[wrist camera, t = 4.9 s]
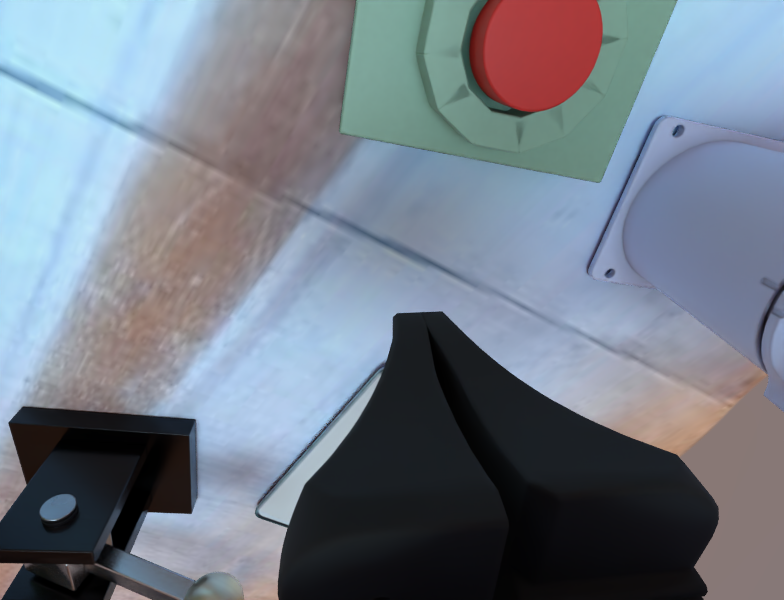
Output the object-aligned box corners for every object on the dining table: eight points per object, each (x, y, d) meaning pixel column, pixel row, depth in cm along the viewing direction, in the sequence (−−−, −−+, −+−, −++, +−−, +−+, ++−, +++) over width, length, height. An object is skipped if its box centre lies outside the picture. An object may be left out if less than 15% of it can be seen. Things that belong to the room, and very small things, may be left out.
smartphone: (251, 515, 29) (385, 365, 24) (252, 508, 30) (384, 359, 25) (338, 546, 32) (477, 415, 27) (339, 538, 32) (475, 409, 27)
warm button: (594, -6, 14) (625, -13, 12) (553, 115, 16) (575, 122, 14) (487, -35, 13) (505, -46, 12) (455, 94, 15) (468, 99, 13)
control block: (660, -42, 17) (742, -65, 13) (577, 170, 20) (624, 196, 17) (372, -127, 15) (381, -180, 11) (339, 124, 18) (337, 142, 15)
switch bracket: (195, 419, 26) (146, 540, 19) (197, 497, 29) (156, 622, 23) (22, 406, 24) (-93, 533, 18) (44, 490, 27) (-45, 622, 21)
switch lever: (256, 572, 21) (222, 635, 19) (253, 603, 22) (221, 666, 20) (64, 494, 23) (10, 543, 20) (73, 527, 24) (22, 578, 21)
